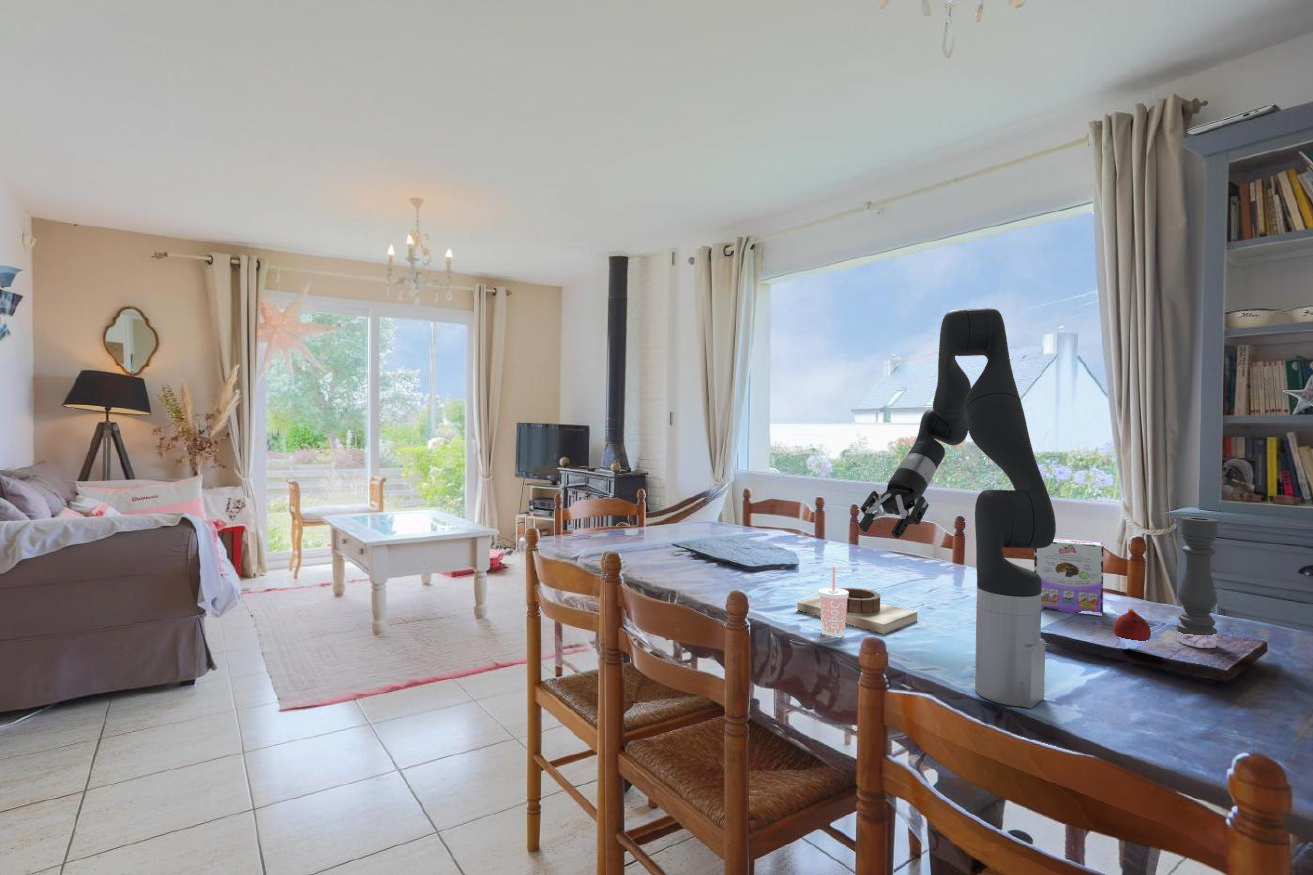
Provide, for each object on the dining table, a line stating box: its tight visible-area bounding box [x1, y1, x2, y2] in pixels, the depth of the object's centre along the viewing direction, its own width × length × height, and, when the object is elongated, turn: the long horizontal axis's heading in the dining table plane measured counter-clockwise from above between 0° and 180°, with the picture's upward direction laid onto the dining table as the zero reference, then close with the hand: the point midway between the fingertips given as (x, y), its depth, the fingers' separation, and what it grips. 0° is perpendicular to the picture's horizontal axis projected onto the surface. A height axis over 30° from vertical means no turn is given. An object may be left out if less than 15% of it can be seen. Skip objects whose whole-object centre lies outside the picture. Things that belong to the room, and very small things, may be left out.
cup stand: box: [796, 587, 918, 635], centre depth 150 cm, size 22×14×5 cm, turn 41°
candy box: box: [1033, 537, 1104, 614], centre depth 155 cm, size 14×6×16 cm, turn 58°
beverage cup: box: [817, 566, 849, 636], centre depth 137 cm, size 6×6×14 cm
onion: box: [1113, 607, 1152, 641], centre depth 128 cm, size 6×6×8 cm
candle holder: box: [1176, 516, 1219, 635], centre depth 132 cm, size 6×6×25 cm
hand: (878, 532), depth 144 cm, fingers open, 8 cm apart
